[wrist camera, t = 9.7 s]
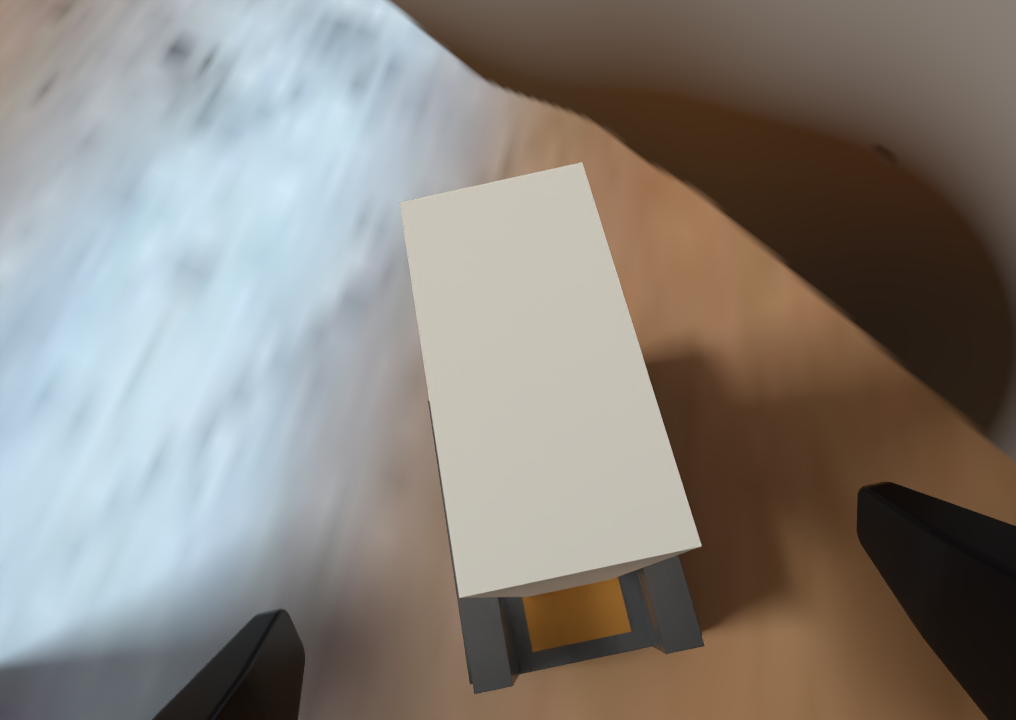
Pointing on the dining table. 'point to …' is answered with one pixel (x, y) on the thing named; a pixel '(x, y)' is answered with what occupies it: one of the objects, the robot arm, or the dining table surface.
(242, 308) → the dining table surface
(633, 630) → the rack
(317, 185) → the dining table surface
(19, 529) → the dining table surface
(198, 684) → the robot arm
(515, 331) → the panel
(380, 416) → the dining table surface
